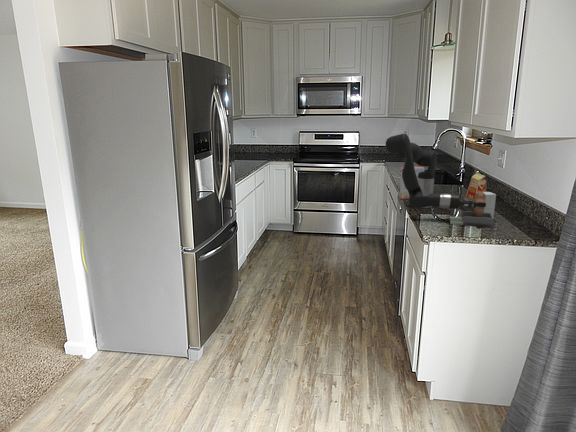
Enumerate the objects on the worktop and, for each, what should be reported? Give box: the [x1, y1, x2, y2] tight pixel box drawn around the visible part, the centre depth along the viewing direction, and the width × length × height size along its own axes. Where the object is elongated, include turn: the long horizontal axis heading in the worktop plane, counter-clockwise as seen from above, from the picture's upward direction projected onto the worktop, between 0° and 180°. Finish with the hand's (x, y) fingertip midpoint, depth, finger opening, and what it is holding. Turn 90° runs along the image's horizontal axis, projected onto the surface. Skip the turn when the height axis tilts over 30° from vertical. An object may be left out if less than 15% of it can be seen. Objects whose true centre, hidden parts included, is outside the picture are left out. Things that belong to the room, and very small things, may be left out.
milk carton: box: [465, 171, 487, 205], centre depth 250 cm, size 9×9×20 cm
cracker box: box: [398, 166, 426, 201], centre depth 266 cm, size 14×6×21 cm, turn 84°
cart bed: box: [449, 210, 496, 228], centre depth 212 cm, size 12×20×4 cm, turn 71°
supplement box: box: [483, 191, 497, 216], centre depth 226 cm, size 7×7×13 cm
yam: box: [472, 192, 486, 217], centre depth 209 cm, size 5×5×14 cm
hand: (484, 203), depth 208 cm, fingers closed on yam, 5 cm apart
